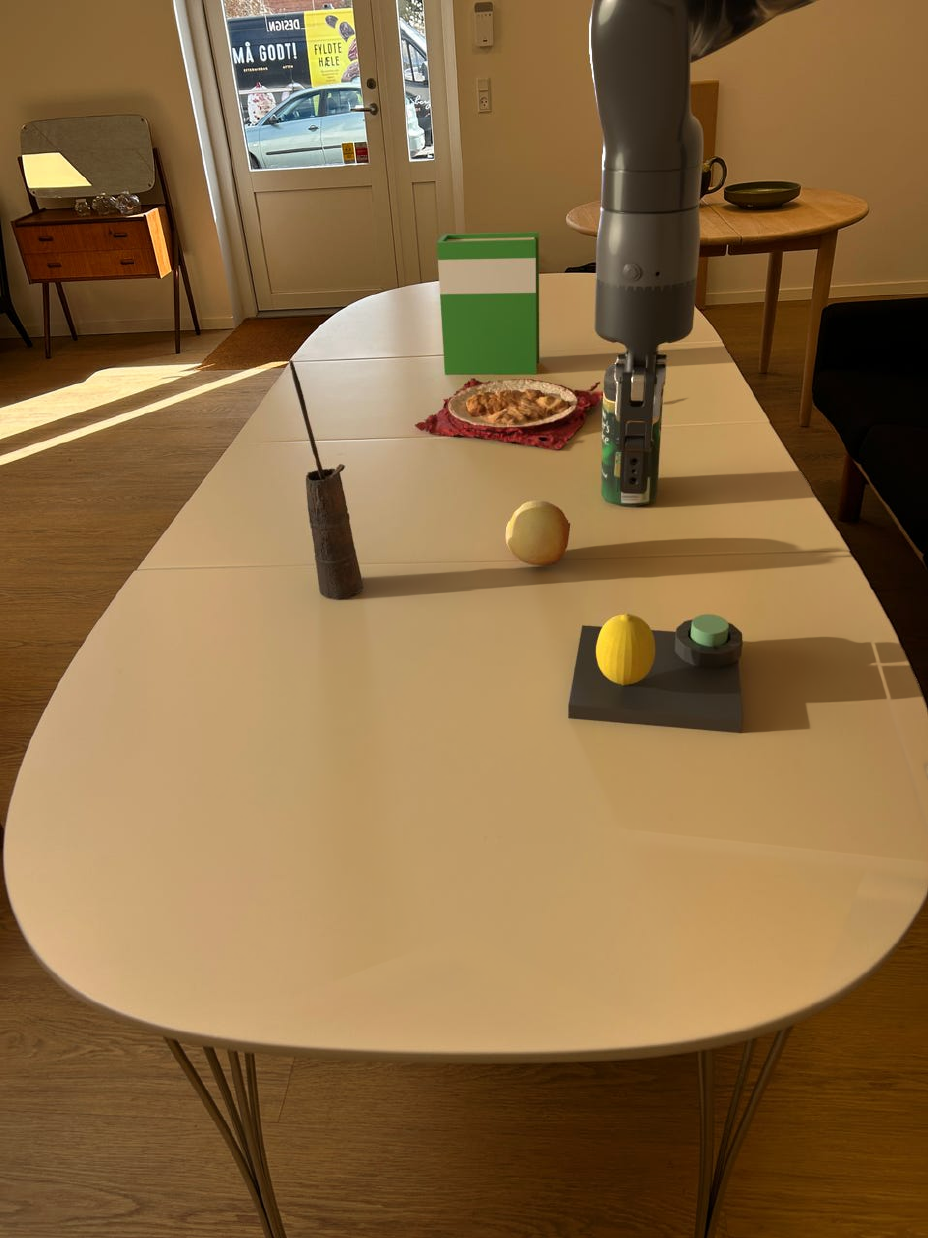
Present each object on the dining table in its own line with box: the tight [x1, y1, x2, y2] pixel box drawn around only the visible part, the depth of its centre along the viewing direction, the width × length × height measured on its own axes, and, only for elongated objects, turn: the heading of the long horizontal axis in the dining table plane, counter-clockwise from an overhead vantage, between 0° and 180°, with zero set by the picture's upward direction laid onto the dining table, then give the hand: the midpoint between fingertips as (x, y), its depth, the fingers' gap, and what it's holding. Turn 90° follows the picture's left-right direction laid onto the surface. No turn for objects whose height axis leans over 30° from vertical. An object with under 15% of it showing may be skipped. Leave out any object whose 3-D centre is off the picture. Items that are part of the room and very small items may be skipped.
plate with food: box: [414, 377, 603, 451], centre depth 158 cm, size 24×26×4 cm
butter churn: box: [288, 359, 364, 600], centre depth 105 cm, size 9×10×28 cm
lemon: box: [596, 613, 655, 685], centre depth 89 cm, size 6×6×8 cm
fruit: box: [505, 500, 571, 566], centre depth 113 cm, size 8×8×8 cm
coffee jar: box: [600, 360, 665, 508], centre depth 126 cm, size 10×8×19 cm
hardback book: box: [436, 231, 540, 375], centre depth 175 cm, size 18×7×24 cm, turn 82°
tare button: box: [691, 613, 729, 647], centre depth 94 cm, size 4×4×2 cm
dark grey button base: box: [567, 618, 744, 734], centre depth 93 cm, size 16×14×4 cm
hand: (635, 470), depth 79 cm, fingers open, 8 cm apart
